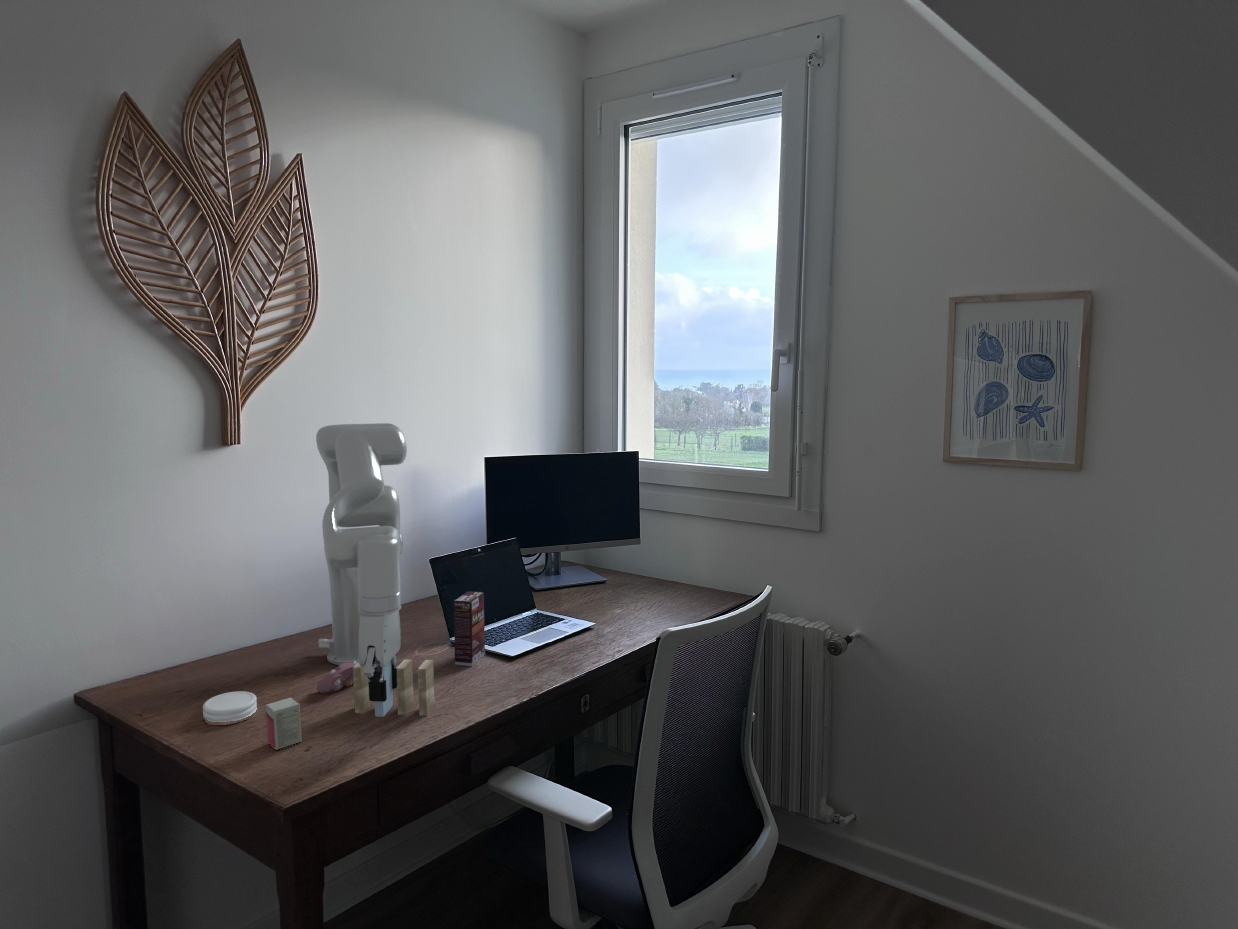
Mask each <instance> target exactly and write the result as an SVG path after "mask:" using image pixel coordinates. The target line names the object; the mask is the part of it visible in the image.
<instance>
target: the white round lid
mask: <svg viewBox="0 0 1238 929" xmlns="http://www.w3.org/2000/svg"><path fill="white" fill-rule="evenodd" d="M257 701H258V700H257V695H255V693H252V692H249V691H245V690H243V691H241V690H239V691H230V692H225V693H221V694H218V695H215V696H212V697H210V698H209V699H207V700H206V701H205V702H204V703H203V705H202V715H203V718H204V717H205V718H206V719H207V720H208V721H211V722H227V721H228V722H230V721H237V720H241V719H243V718H246V717H248V716H251V715H252V714H253V713H255V712H256V710H257V711H258V708H257V707H258V702H257Z"/></svg>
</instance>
